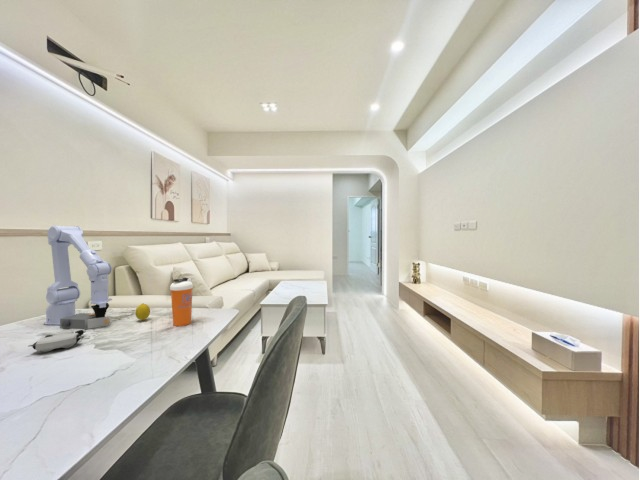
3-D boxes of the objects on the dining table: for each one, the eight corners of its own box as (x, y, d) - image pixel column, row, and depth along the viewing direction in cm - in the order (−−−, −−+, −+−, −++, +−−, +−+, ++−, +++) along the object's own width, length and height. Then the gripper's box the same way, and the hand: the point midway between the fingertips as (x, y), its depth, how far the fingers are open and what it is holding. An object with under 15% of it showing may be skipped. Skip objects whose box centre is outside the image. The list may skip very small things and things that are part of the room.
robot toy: (43, 345, 91) (27, 358, 79) (43, 332, 92) (27, 344, 79) (88, 337, 98) (79, 348, 86) (88, 325, 99) (79, 335, 86)
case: (57, 329, 105) (57, 318, 105) (80, 321, 114) (80, 311, 114) (83, 329, 104) (82, 318, 104) (103, 322, 113) (103, 312, 113)
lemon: (137, 319, 116) (136, 302, 116) (151, 318, 119) (151, 301, 118) (134, 323, 111) (133, 305, 111) (149, 321, 114) (148, 304, 113)
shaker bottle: (165, 325, 108) (164, 279, 107) (182, 319, 116) (181, 276, 116) (182, 328, 105) (181, 280, 105) (198, 321, 114) (197, 277, 113)
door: (85, 328, 105) (85, 319, 105) (109, 324, 109) (109, 316, 109) (84, 329, 104) (84, 320, 104) (109, 325, 108) (108, 317, 108)
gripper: (114, 290, 107) (115, 322, 107) (108, 286, 117) (109, 315, 117) (92, 293, 102) (93, 326, 102) (88, 289, 111) (88, 319, 111)
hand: (100, 321), depth 109 cm, fingers closed
